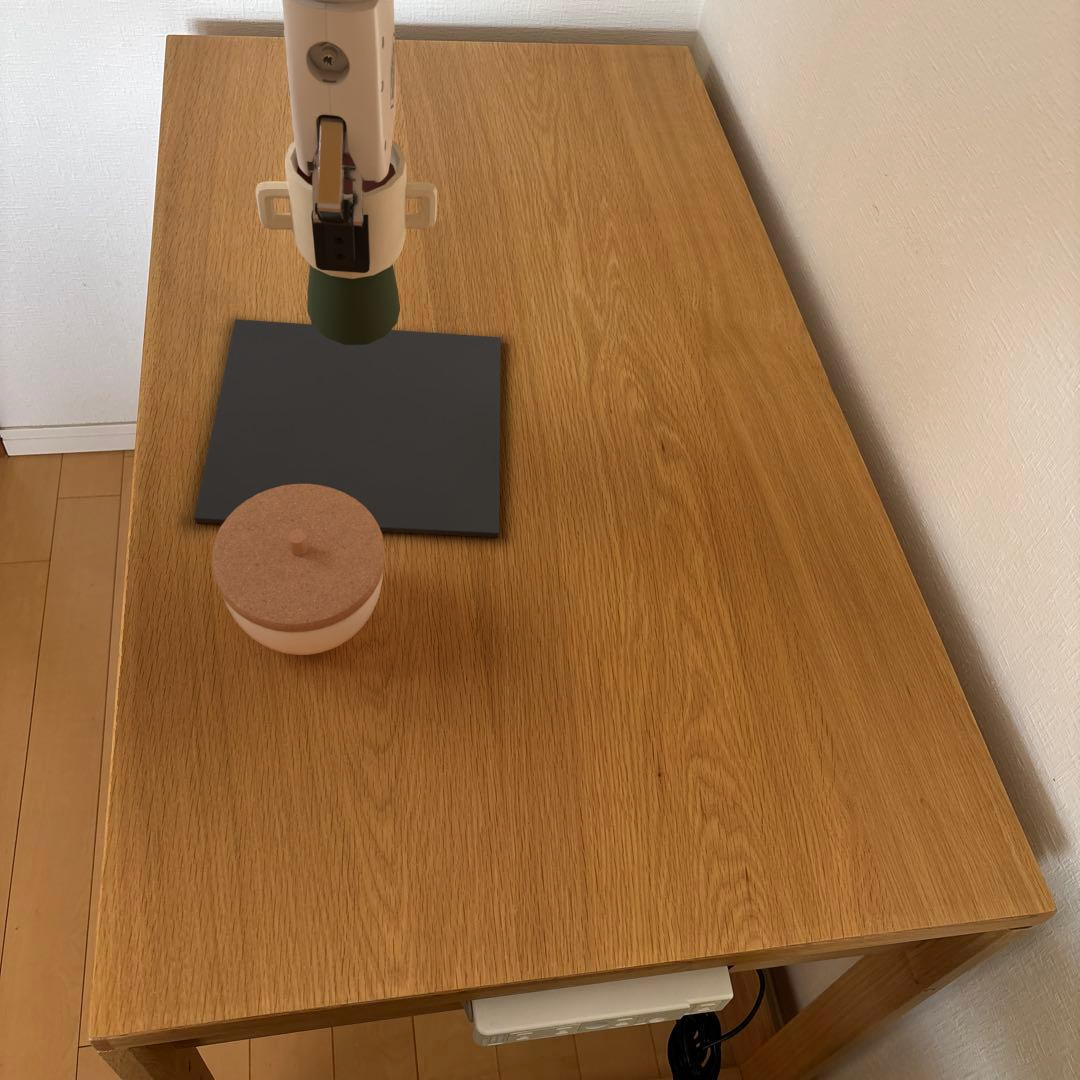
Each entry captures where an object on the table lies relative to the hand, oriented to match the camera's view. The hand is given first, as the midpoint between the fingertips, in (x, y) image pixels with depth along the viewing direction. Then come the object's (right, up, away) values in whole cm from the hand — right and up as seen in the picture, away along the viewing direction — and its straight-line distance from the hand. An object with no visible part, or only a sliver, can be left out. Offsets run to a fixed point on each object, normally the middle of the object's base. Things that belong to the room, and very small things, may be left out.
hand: (349, 223), depth 64 cm
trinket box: (-4, -25, +7) cm, 26 cm away
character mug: (-1, -5, +7) cm, 8 cm away
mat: (-2, -11, +16) cm, 20 cm away
